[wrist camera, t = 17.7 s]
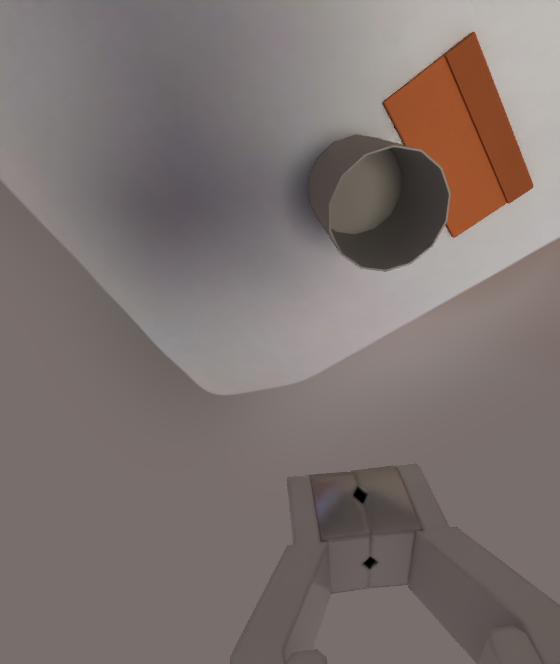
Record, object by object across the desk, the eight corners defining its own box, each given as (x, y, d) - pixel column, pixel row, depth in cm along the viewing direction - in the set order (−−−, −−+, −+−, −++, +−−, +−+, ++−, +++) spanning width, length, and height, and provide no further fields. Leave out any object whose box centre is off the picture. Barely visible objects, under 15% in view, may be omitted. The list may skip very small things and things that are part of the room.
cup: (345, 251, 39) (374, 292, 30) (289, 185, 36) (303, 211, 27) (418, 188, 37) (472, 214, 28) (365, 111, 34) (407, 114, 25)
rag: (382, 102, 33) (385, 102, 33) (472, 32, 31) (476, 30, 31) (452, 237, 39) (455, 239, 39) (531, 184, 37) (535, 185, 37)
